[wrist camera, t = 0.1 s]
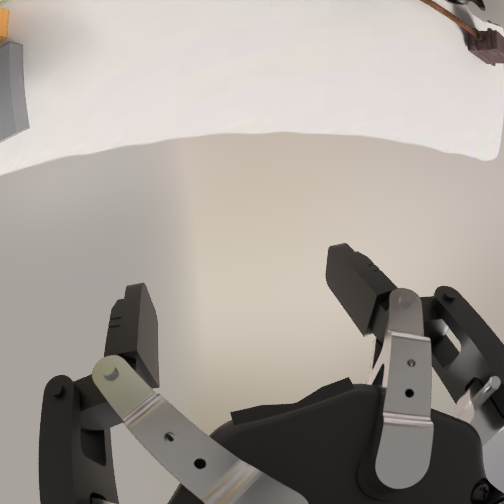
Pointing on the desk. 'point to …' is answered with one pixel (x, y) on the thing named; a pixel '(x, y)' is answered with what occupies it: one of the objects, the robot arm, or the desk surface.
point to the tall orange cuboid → (3, 23)
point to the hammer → (479, 39)
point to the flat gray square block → (12, 92)
